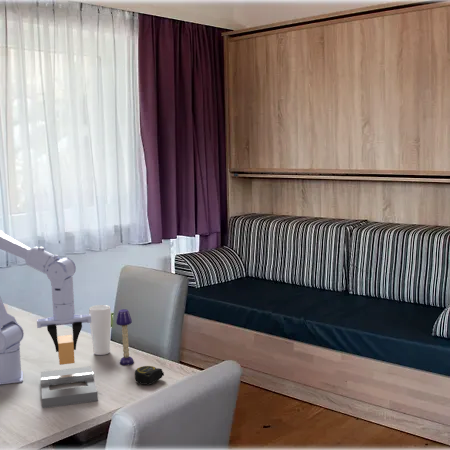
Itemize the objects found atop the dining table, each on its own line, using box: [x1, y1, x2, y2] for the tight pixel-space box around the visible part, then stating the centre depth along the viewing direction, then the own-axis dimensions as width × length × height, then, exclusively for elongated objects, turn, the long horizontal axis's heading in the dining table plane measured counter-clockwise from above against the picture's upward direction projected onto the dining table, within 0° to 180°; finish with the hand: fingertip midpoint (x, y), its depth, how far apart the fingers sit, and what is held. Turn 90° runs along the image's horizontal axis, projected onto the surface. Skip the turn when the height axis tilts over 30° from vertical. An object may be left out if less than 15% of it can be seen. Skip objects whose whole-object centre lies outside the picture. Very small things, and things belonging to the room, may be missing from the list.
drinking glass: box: [88, 304, 112, 356], centre depth 204 cm, size 7×7×15 cm
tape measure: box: [134, 365, 165, 385], centre depth 180 cm, size 7×7×4 cm
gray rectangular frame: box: [40, 365, 99, 409], centre depth 175 cm, size 14×20×2 cm
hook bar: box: [40, 371, 95, 386], centre depth 175 cm, size 14×2×2 cm, turn 107°
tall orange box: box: [57, 334, 75, 366], centre depth 179 cm, size 4×7×6 cm, turn 17°
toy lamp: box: [116, 308, 135, 366], centre depth 195 cm, size 5×5×17 cm
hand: (65, 349), depth 178 cm, fingers closed on tall orange box, 4 cm apart
